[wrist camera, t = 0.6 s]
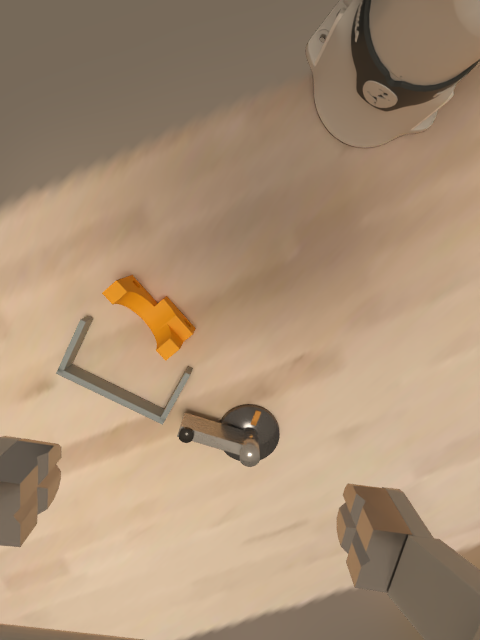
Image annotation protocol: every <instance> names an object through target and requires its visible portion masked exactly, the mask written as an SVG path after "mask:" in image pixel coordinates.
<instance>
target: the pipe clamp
mask: <svg viewBox="0 0 480 640" xmlns="http://www.w3.org/2000/svg"><path fill="white" fill-rule="evenodd" d="M102 294H103V295H104V296H105V297H106V298H107V299H108V300H109V301H110V302H111V303H112V304H121V305H123V306H126V307H128V308H129V309H131V310H132V311H134V312H135V313H136V314H137V315H139V316H140V317H141V318H142V319H143V320H144V321H145V323H146V324H147V325H148V326H149V328H150V329H151V331H152V332H153V334H154V336H155V339H156V342H157V349H156V351H157V352H158V353H159V354H160V355H161V356H162V357H163V358H164V359H165V361H166V360H167V359H168V358H169V357H171V356H172V355H173V354H174V353H176V352H177V351H178V350H179V349H180V348H181V346H182V344H183V342H184V341H185V340H186V339H188V338H189V337H190V336H191V335H192V334H193V333H194V331H195V329H196V328H195V327H194V326H193V325H192V324H191V323H190V322H189V321H188V320H187V318H186V317H185V316H184V315H183V314H182V313H181V312H180V311H179V309H178V308H177V307H176V306H175V305H174V304H173V303H172V302H171V301H170V299H169V298H168V297H167V296H166V297H165V298H164V299H163V300H162V301H160V302H159V303H157V302H156V301H155V300H154V299H153V298H152V296H151V295H150V294H149V293H148V292H147V291H146V290H145V289H144V288H143V286H142V285H141V284H140V283H139V282H138V281H137V280H136V279H135V278H134V277H133V275H131V276H128V277H125V278H122V279H119V280H116V281H115V282H114V283H113V284H112V285H111V286H110V287H108V288H107V289H106V290H105V291H104V292H103V293H102Z"/></svg>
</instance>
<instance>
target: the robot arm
mask: <svg viewBox="0 0 480 640" xmlns="http://www.w3.org/2000/svg"><path fill="white" fill-rule="evenodd" d="M321 37H323V38H324V39H325V42H321V41H320V38H321ZM305 52H306V57H307V60H308V63H309V65H310V68H311V70H312V73H313V80H314V99H315V104H316V108H317V111H318V114H319V116H320V119H321V120H322V122H323V124H324V125H325V127H326V128H327V129H328V131H329V132H330V133H331V134H332V135H333V136H335V137H336V138H337V139H339V140H340V141H342V142H344V143H346V144H348V145H351V146H355V147H362V148H368V147H376V146H380V145H383V144H385V143H388V142H390V141H392V140H393V139H395V138H397V137H399V136H401V135H404V134H414V133H420V132H424V131H425V130H427V129H428V128H429V127H430V126H431V125H432V124H433V122H434V120H435V117H436V115H437V112H438V110H439V108H441V107H442V106H443V105H444V104H446V103H447V102H448V101H449V100H450V99H451V98H452V97H453V95H454V91H453V90H454V88H455V86H456V84H457V83H458V82H459V81H461V80H462V78H464V77H465V76H466V75H467V74H468V73H469V72H470V71H471V70H472V69H473V68H474V67H475V66H476V64H477V63H478V62H479V61H480V0H339V1H338V3H337V4H336V6H335V7H334V8H333V10H332V11H331V12H330V13H329V14H328V16H327V17H326V18H325V20H324V21H323V22H322V24H321V25H320V26H319V28H318V29H317V30H316V32H315V33H314V34H313V35H312V37H311V38H310V40H309V42H308V43H307V46H306V50H305ZM60 459H61V446H60V445H59V444H55V443H48V442H42V441H36V440H30V439H21V438H15V437H9V436H3V437H0V545H3V546H14V547H21V545H22V544H23V543H24V541H25V540H26V538H27V537H28V536H29V534H30V533H31V531H32V530H33V529H34V527H35V526H36V524H37V515H38V514H39V513H41V512H43V511H45V510H46V509H48V507H49V506H50V504H51V503H52V501H53V500H54V498H55V495H56V493H57V491H58V489H59V484H60V480H61V471H60V469H59V468H58V466H57V465H56V464H57V462H58V461H59V460H60ZM343 497H344V499H345V502H346V503H345V504H343V505H342V506H341V507H340V508H339V511H338V515H337V534H338V539H339V542H340V545H341V547H342V548H343V549H344V550H345V551H346V552H347V553H348V557H347V560H346V563H347V566H348V569H349V572H350V575H351V578H352V581H353V584H354V587H355V588H360V589H367V590H373V591H380V592H387V593H388V596H389V597H390V598H391V600H392V601H393V602H394V603H395V604H396V606H397V607H398V608H399V609H400V611H401V612H402V613H403V614H404V615H405V617H406V618H407V619H408V620H409V621H410V623H411V624H412V625H413V626H414V628H415V629H416V630H417V631H418V632H419V634H420V635H421V636H422V637H423V638H424V640H480V570H479V569H478V568H477V567H475V566H474V565H473V564H471V563H470V562H469V561H467V560H466V559H465V558H463V557H462V556H461V555H460V554H458V553H457V552H456V551H454V550H453V549H452V548H450V547H449V546H448V545H446V544H445V543H444V542H443V541H441V540H440V539H434V538H433V536H432V535H431V533H430V532H429V530H428V529H427V527H426V526H425V524H424V523H423V521H422V520H421V518H420V517H419V515H418V513H417V512H416V510H415V509H414V507H413V506H412V504H411V503H410V501H409V500H408V498H407V497H406V495H405V494H404V492H402V491H401V490H400V489H393V488H383V487H382V488H379V487H371V486H363V485H356V484H347V486H346V487H345V489H344V493H343ZM0 640H143V639H134V638H125V637H116V636H107V635H98V634H89V633H80V632H71V631H62V630H53V629H44V628H35V627H26V626H17V625H8V624H0Z"/></svg>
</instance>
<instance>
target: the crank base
mask: <svg viewBox="0 0 480 640" xmlns="http://www.w3.org/2000/svg"><path fill="white" fill-rule="evenodd" d="M220 423H221V424H225V425H228V426H231V427H234V428H238V429H241V430H243V429H245V428H252V429H254V430H256V431H257V433H258V441H259V451H260V460H261V459H263V458H265V457H267V456H268V455H270V454H271V453H272V452H273V451H274V449H275V448H276V446H277V444H278V441H279V428H278V424H277V421H276V419H275V417H274V416H273V415H272V414H271V413H270V412H269V411H268V410H266V409H265V408H263V407H260V406H257V405H250V404H247V405H240V406H237V407H235V408H233V409H231V410H230V411H228V412H227V413H226V414H225V415H224V416H223V418H222V420H221V421H220ZM224 452H225V453H226V454H227V455H229V456H230V457H232V458H233V459H236V460H239V461H240V455H237V454H234V453H231V452H227V451H224Z"/></svg>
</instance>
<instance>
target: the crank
mask: <svg viewBox="0 0 480 640" xmlns="http://www.w3.org/2000/svg"><path fill="white" fill-rule="evenodd" d="M177 437H179V439H180V440H181V441H182V442H184V443H188V442H191V441H194V442H197V443H201V444H204V445H207V446H211V447H214V448H217V449H221V450H224V451H227V452H231V453H234V454H237V455H240V462H241V463H242V464H243V465H245V466H247V467H252V466H255V465H257V464H258V463H259V461H260V451H259V441H258V433H257V431H256V430H254V429H252V428H245V429H243V430H241V429H238V428H234V427H231V426H228V425H225V424H221V423H218V422H215V421H211V420H208V419H205V418H202V417H198V416H195V415H192V414H189V413H185V414H184V417H183V419H182V422H181V426H180V429H179V432H178V435H177Z"/></svg>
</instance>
